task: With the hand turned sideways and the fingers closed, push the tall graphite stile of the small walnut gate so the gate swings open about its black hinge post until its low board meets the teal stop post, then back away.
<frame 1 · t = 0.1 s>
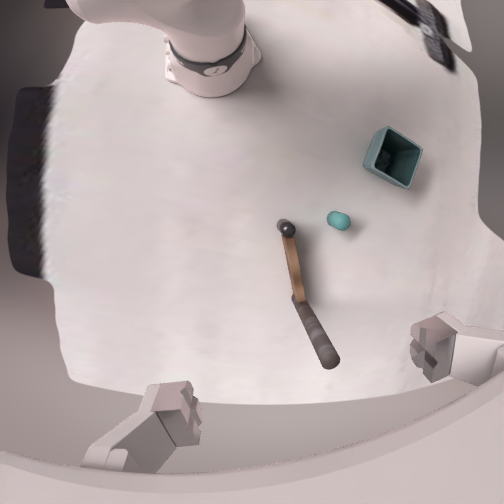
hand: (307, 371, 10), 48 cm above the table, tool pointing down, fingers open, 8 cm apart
stop post: (334, 218, 57), on the table
flower pot: (376, 160, 55), on the table
hinge post: (283, 225, 57), on the table
gate: (305, 290, 47), point 12 cm above the table, hinge at 0.0°
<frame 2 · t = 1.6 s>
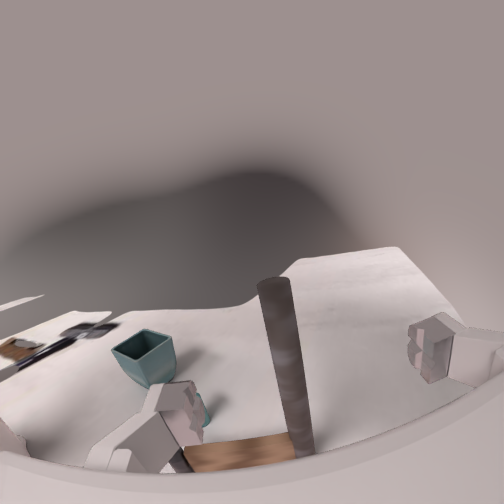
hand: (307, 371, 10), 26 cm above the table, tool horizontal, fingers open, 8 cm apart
stop post: (200, 421, 39), on the table
flower pot: (157, 382, 51), on the table
hinge post: (187, 473, 30), on the table
gate: (232, 404, 26), point 12 cm above the table, hinge at 0.0°
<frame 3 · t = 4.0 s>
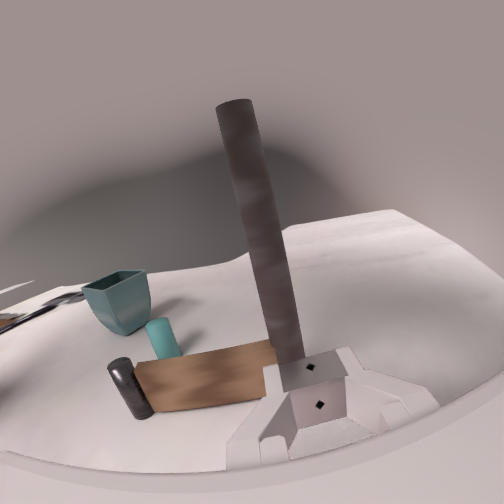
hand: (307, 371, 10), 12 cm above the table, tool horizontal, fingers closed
stop post: (170, 357, 35), on the table
flower pot: (130, 329, 47), on the table
hinge post: (144, 411, 25), on the table
gate: (190, 280, 22), point 12 cm above the table, hinge at 0.0°
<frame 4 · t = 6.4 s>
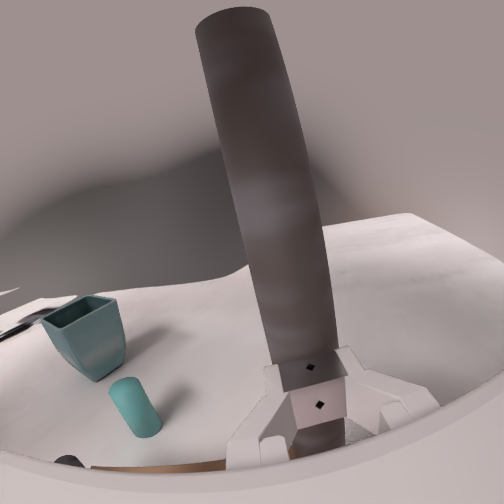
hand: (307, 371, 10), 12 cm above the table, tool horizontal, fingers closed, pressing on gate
stop post: (147, 426, 23), on the table
flower pot: (102, 370, 34), on the table
gate: (150, 378, 10), point 12 cm above the table, hinge at 3.1°, touching gripper
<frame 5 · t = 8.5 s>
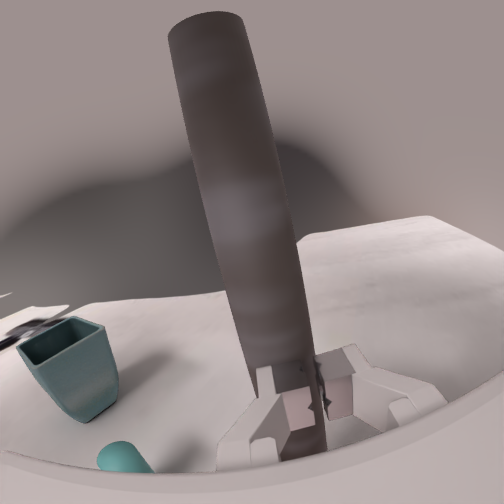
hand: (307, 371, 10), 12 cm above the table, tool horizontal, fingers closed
stop post: (150, 495, 15), on the table
flower pot: (93, 406, 26), on the table
gate: (134, 436, 7), point 12 cm above the table, hinge at 35.8°, touching gripper
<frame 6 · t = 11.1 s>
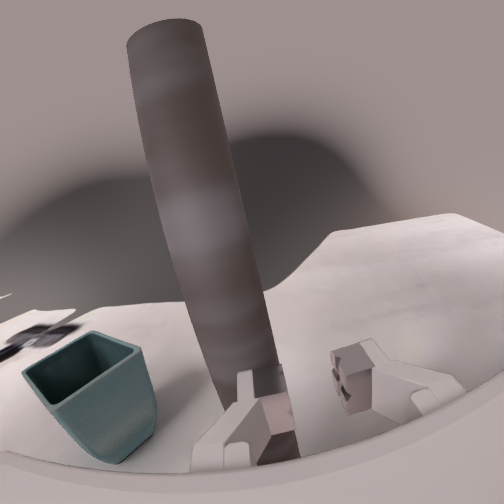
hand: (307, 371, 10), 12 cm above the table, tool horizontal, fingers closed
flower pot: (122, 440, 21), on the table
gate: (170, 496, 5), point 12 cm above the table, hinge at 70.5°, touching gripper
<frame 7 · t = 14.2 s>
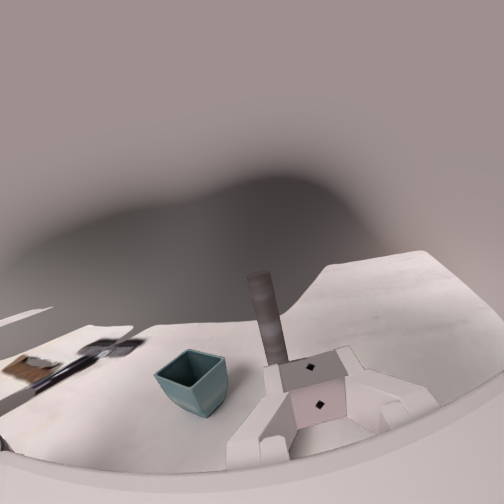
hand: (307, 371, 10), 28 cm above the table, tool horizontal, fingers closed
flower pot: (205, 406, 46), on the table
gate: (266, 393, 30), point 12 cm above the table, hinge at 70.5°
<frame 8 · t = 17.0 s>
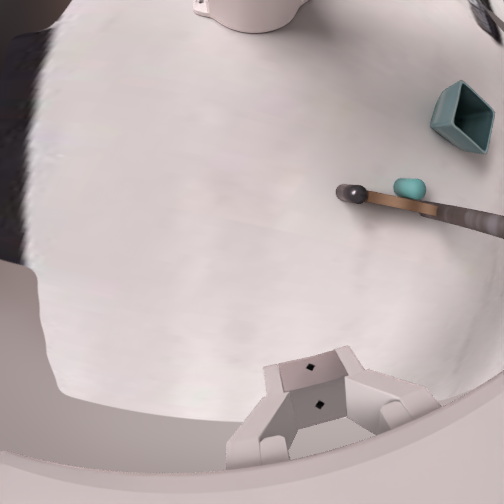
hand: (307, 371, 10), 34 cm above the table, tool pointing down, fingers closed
stop post: (401, 187, 42), on the table
flower pot: (442, 123, 40), on the table
hinge post: (343, 192, 42), on the table
gate: (440, 211, 31), point 12 cm above the table, hinge at 70.5°
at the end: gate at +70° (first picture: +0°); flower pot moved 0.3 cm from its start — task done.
